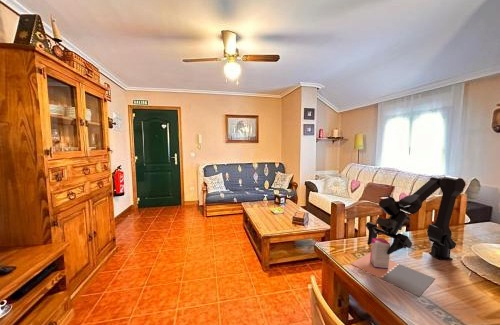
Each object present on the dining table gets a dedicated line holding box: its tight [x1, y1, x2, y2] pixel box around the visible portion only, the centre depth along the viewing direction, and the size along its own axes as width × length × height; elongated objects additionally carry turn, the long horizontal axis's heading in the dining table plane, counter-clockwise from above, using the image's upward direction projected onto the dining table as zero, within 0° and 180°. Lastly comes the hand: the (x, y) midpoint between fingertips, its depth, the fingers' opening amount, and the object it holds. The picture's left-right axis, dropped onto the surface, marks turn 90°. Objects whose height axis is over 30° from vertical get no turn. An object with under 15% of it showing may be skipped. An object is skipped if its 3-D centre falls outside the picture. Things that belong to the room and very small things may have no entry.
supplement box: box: [370, 237, 391, 269], centre depth 98 cm, size 6×6×12 cm
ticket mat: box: [350, 251, 436, 298], centre depth 95 cm, size 26×18×1 cm
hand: (377, 249), depth 97 cm, fingers open, 9 cm apart
